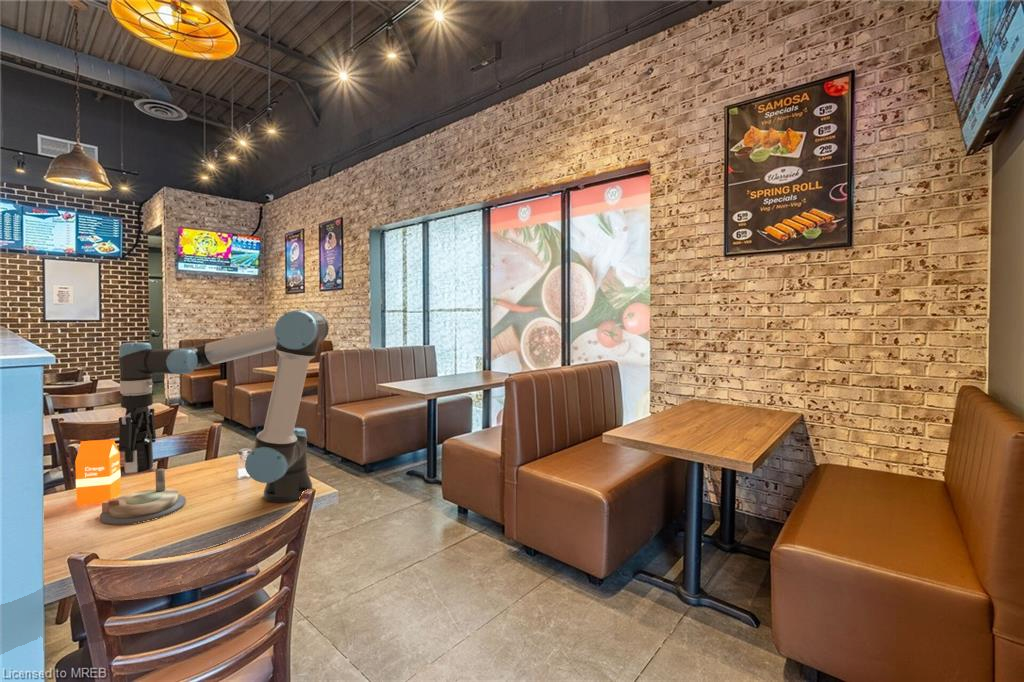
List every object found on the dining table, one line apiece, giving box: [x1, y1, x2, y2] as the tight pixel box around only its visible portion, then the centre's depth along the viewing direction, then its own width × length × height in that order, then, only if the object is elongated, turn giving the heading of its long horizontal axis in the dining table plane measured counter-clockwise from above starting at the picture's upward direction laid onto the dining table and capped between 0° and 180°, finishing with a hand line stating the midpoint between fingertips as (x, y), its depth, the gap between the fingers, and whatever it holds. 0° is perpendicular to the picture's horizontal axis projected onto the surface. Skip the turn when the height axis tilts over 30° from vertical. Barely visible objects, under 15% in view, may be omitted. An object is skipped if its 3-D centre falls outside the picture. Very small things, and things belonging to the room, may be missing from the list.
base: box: [99, 494, 187, 526], centre depth 142 cm, size 21×21×4 cm
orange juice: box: [74, 438, 122, 506], centre depth 150 cm, size 8×9×20 cm
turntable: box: [108, 468, 179, 518], centre depth 142 cm, size 17×17×9 cm
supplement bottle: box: [123, 429, 154, 474], centre depth 137 cm, size 7×7×12 cm
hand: (139, 467), depth 138 cm, fingers closed on supplement bottle, 7 cm apart
